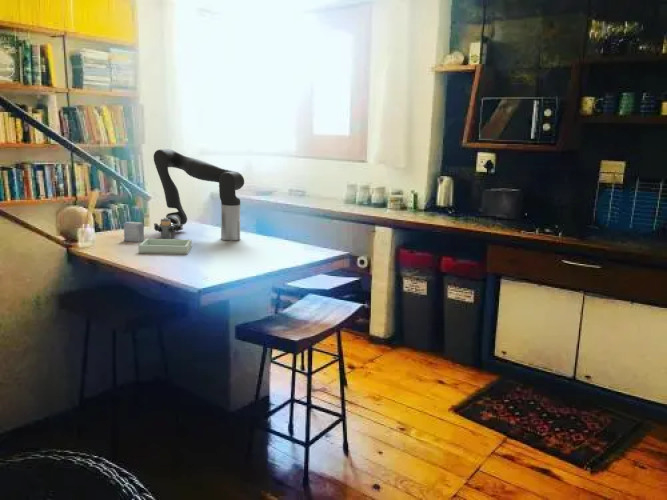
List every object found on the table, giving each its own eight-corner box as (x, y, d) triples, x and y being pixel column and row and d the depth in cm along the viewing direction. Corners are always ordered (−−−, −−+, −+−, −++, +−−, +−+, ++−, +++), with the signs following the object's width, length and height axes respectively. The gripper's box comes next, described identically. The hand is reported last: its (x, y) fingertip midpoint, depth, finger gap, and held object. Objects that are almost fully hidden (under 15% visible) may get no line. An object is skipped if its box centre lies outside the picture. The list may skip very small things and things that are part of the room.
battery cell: (171, 241, 265) (171, 217, 263) (170, 243, 261) (169, 218, 259) (161, 241, 265) (161, 217, 262) (160, 243, 260) (159, 218, 258)
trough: (191, 247, 256) (191, 239, 255) (187, 254, 241) (186, 246, 240) (146, 246, 253) (146, 238, 253) (138, 253, 239) (138, 245, 238)
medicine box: (144, 240, 265) (144, 222, 263) (138, 242, 261) (138, 224, 259) (129, 239, 267) (129, 221, 265) (124, 240, 263) (123, 222, 261)
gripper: (156, 216, 274) (148, 221, 258) (185, 216, 276) (180, 222, 259) (156, 231, 276) (149, 237, 259) (186, 231, 278) (180, 238, 261)
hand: (165, 229), depth 259 cm, fingers closed on battery cell, 4 cm apart
